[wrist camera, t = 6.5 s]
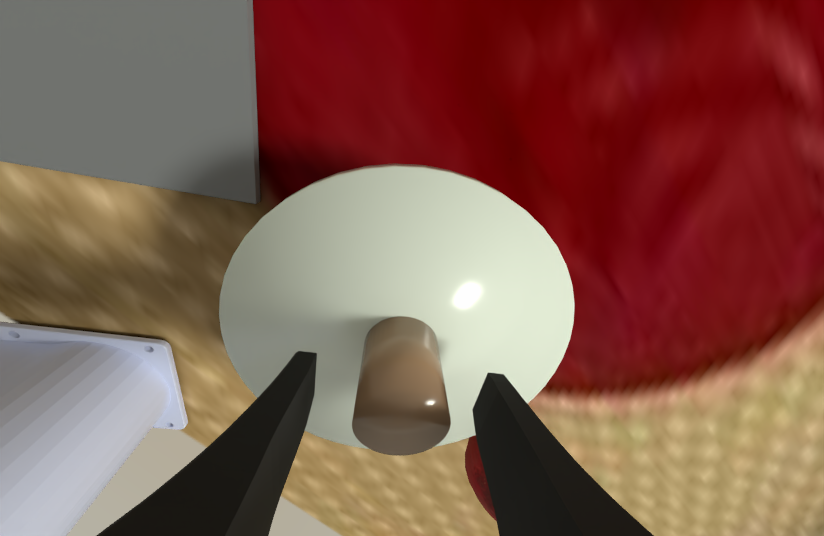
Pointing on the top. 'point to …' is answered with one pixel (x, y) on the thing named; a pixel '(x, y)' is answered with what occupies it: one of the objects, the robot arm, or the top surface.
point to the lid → (397, 302)
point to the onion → (478, 475)
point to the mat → (133, 92)
